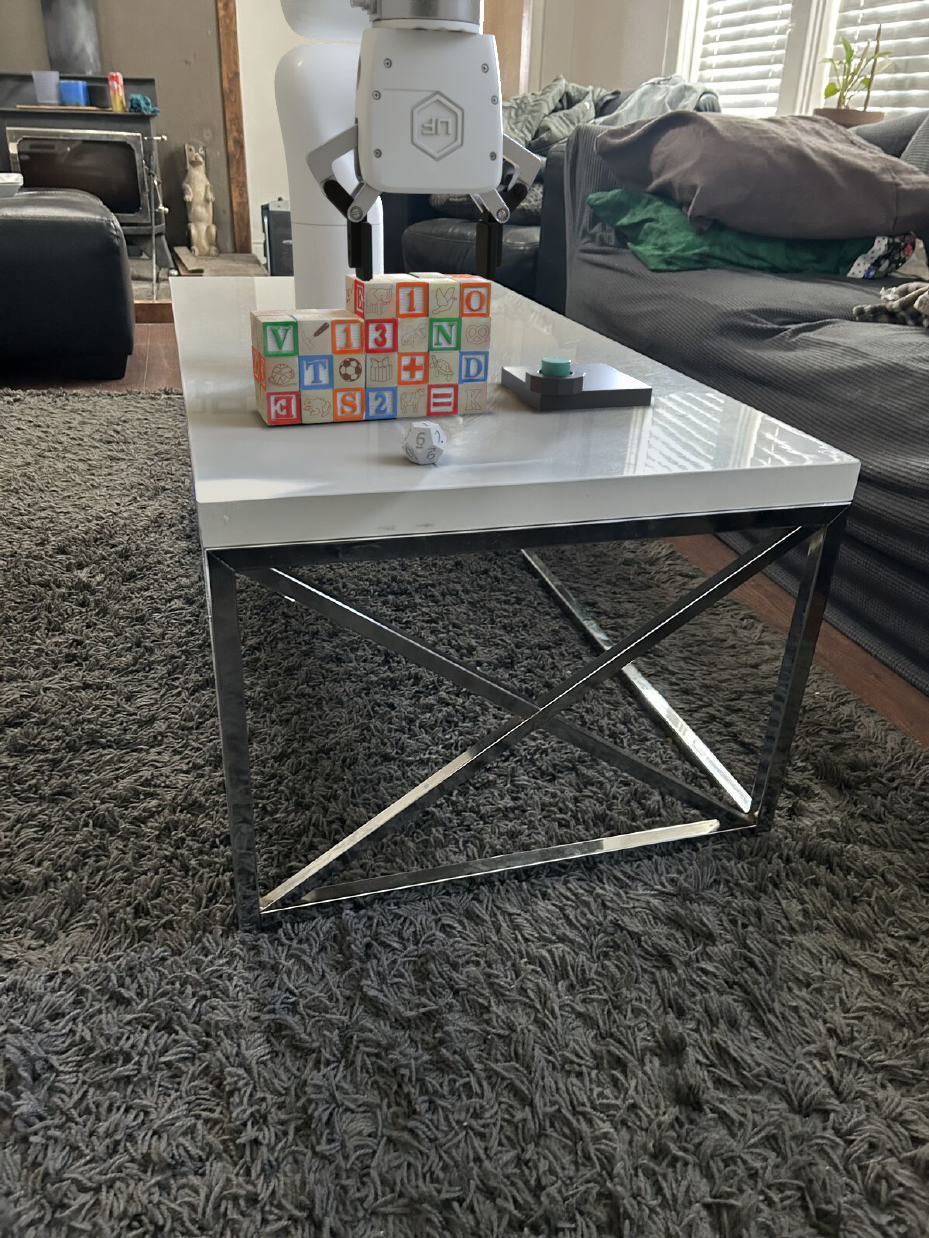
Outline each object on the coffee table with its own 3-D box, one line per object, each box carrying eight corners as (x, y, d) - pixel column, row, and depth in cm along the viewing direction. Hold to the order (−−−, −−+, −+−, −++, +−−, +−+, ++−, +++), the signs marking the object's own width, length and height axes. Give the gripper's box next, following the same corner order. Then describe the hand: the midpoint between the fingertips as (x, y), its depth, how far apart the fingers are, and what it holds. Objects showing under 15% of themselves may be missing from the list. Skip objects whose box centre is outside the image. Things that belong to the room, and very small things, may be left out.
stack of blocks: (266, 428, 86) (257, 284, 80) (255, 411, 91) (245, 275, 85) (488, 413, 93) (493, 279, 87) (465, 398, 98) (469, 271, 92)
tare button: (547, 379, 92) (548, 363, 92) (536, 373, 95) (537, 357, 94) (573, 378, 93) (575, 362, 92) (563, 372, 95) (564, 356, 95)
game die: (413, 469, 76) (413, 432, 75) (395, 456, 79) (395, 420, 78) (453, 464, 78) (453, 428, 76) (434, 452, 81) (435, 417, 79)
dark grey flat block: (536, 416, 92) (538, 379, 91) (493, 385, 104) (494, 352, 102) (656, 410, 96) (660, 374, 94) (602, 380, 107) (605, 348, 105)
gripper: (306, -6, 59) (318, 287, 67) (567, 12, 63) (550, 284, 71) (291, 8, 65) (303, 273, 73) (529, 23, 70) (517, 271, 78)
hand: (425, 278), depth 72 cm, fingers open, 9 cm apart
